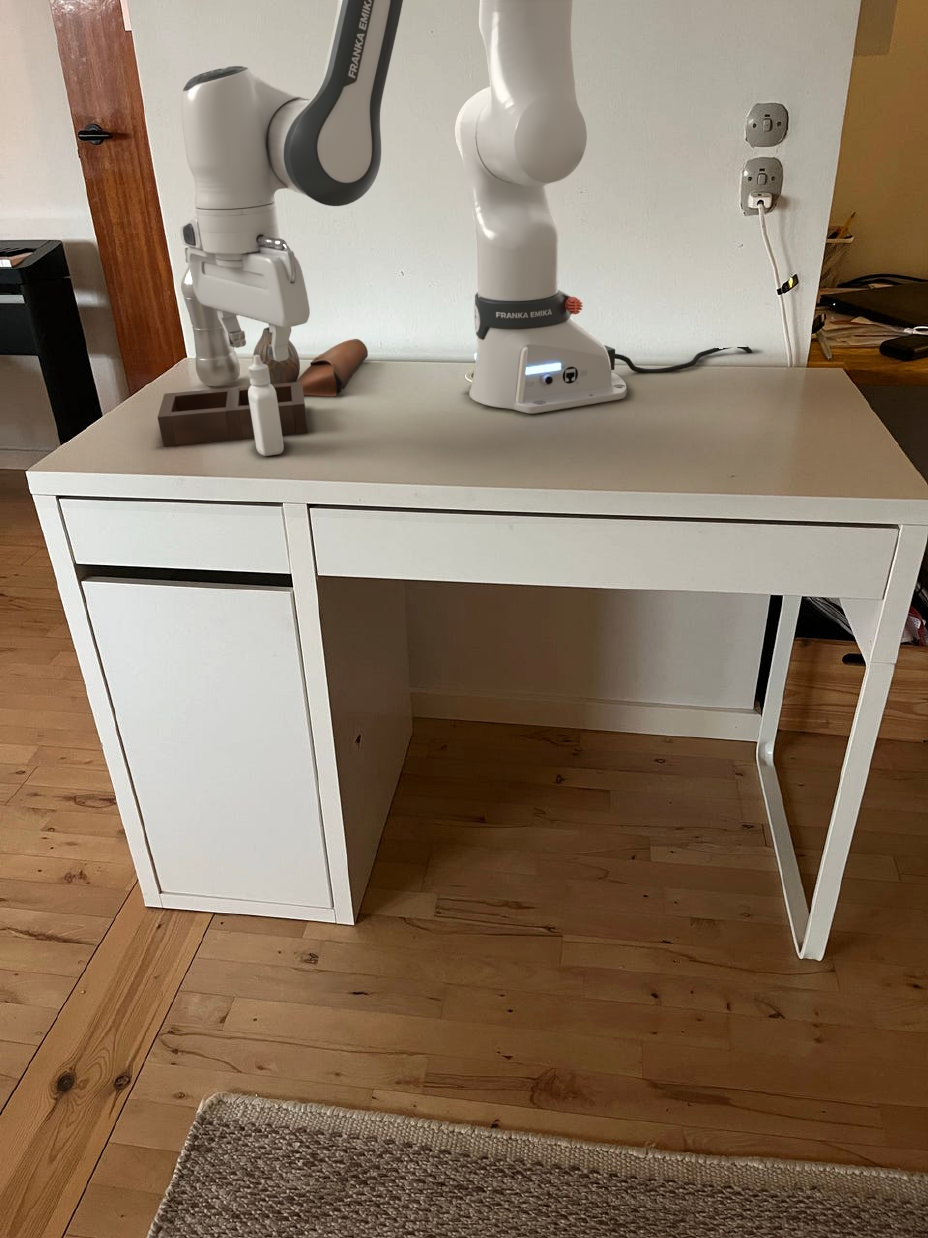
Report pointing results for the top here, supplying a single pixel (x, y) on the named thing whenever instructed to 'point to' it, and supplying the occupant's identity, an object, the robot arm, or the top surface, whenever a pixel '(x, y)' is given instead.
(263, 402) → the eye dropper bottle
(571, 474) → the top surface
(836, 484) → the top surface
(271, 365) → the vase
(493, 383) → the robot arm
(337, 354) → the sunglasses case
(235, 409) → the stand
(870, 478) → the top surface
